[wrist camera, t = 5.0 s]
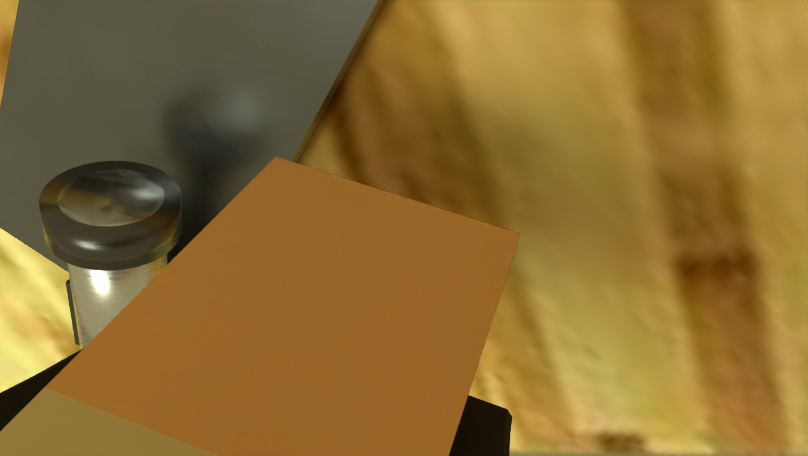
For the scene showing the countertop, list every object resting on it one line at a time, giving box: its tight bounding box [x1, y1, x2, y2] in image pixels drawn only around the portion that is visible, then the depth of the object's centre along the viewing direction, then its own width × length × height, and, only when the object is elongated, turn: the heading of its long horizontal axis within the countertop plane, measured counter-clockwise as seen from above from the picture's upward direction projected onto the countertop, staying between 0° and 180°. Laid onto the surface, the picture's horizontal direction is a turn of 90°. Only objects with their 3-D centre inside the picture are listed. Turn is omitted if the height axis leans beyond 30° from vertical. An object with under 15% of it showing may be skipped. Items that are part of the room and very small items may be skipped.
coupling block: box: [0, 157, 520, 456], centre depth 10 cm, size 4×5×6 cm
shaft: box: [39, 161, 183, 349], centre depth 19 cm, size 6×3×4 cm, turn 170°
